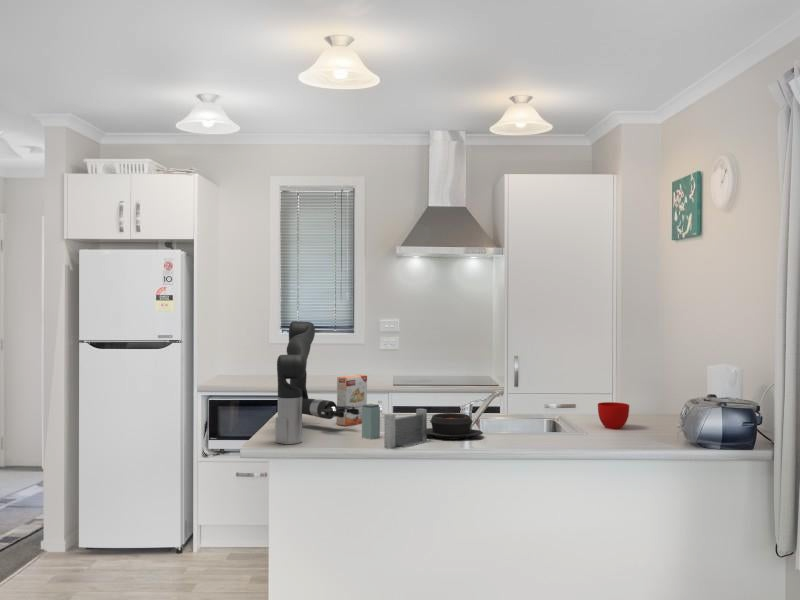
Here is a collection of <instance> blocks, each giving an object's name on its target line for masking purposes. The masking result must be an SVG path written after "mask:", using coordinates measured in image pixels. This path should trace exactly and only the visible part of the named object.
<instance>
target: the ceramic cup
mask: <svg viewBox="0 0 800 600" xmlns="http://www.w3.org/2000/svg"><path fill="white" fill-rule="evenodd" d="M597 413H598V419H599V420H600V422H601V424H602V425H603V427H606V428H605V429H608V428H611V429H610V430H620V429H619V428H621V429H622V428H623V427H624V426H625V424H626V423H627V422H628V419H629V415H630V414H629V413H630V405H629V404H628V403H624V402H616V401H615V402H614V401H613V402H612V401H608V402H607V401H605V402H599V403H597Z"/></svg>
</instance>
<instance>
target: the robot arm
mask: <svg viewBox="0 0 800 600" xmlns="http://www.w3.org/2000/svg"><path fill="white" fill-rule="evenodd" d="M315 335H316V327H315V325H314V323H313V322H310V321H298V320H297V321H296V320H295V321H294V320H293V321H291V322H290V324H289V327H288V344H287V346H286V354H279V356H277V359H276V360H277V361H276V373H277V374H276V375H277V416H276V417H275V440H274V441H275V443H276V444H277V443H278V444H282V445H295V444H300V443H302V442H303V415H307V416H312V417H316V418H319V419H327V420H332V419H333V418H337V417H344V415H347V414H355V415H358V414H359V410H358V409H355V407H351V406H337V403H336V402H334V401H333V400H326V399H319V398H318V399H316V398H309V395H308V394H309V393H308V391H307V389H308V388H307V377H308V376H307V375H308V373H307V365H308V357H309V355H310V352H311V346H312V343H313V341H314V338H315ZM287 380H289V382H288V381H287ZM344 412H345V413H344Z"/></svg>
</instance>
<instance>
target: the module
mask: <svg viewBox="0 0 800 600" xmlns="http://www.w3.org/2000/svg"><path fill="white" fill-rule="evenodd" d="M380 426H381V406H380V405H379V404H377V403H367V404H366V405H363V407H362V423H361V438H363V437H364V439H368V438H371V439H370V440H373V439H378V438H380V437H381V427H380ZM377 437H378V438H377ZM372 438H373V439H372Z"/></svg>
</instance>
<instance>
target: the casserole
mask: <svg viewBox="0 0 800 600" xmlns="http://www.w3.org/2000/svg"><path fill="white" fill-rule="evenodd" d="M429 422H430V423H431V427H430V428H427V436H435V437H437V438H439V439H443V440H459V439H460V440H461V439H465V438H467V437H478V436H482V435H483V434H484V432H483V431H481V430H480V429H472V427H471V425H472V423H473V420H472V419H471V416H470V415H468V414H466V413H464V414H463V413H457V412H454V413H452V412H444V413H436V414H433V415H431V419H430V421H429Z"/></svg>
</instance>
